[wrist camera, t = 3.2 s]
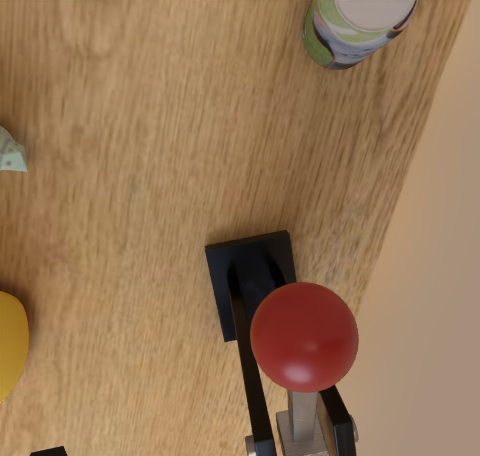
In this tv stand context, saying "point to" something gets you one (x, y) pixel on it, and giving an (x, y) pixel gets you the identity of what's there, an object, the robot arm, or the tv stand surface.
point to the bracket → (239, 325)
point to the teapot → (12, 342)
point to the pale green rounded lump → (11, 153)
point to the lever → (303, 356)
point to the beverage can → (352, 29)
